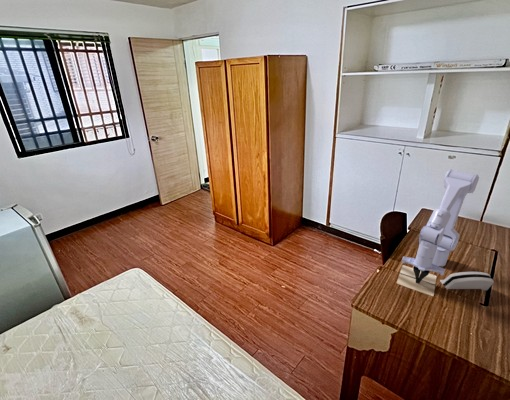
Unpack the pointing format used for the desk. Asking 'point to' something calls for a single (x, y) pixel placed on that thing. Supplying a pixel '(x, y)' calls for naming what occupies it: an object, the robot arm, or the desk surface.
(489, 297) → the desk surface
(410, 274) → the laid board
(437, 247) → the robot arm
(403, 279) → the board
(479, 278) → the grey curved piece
